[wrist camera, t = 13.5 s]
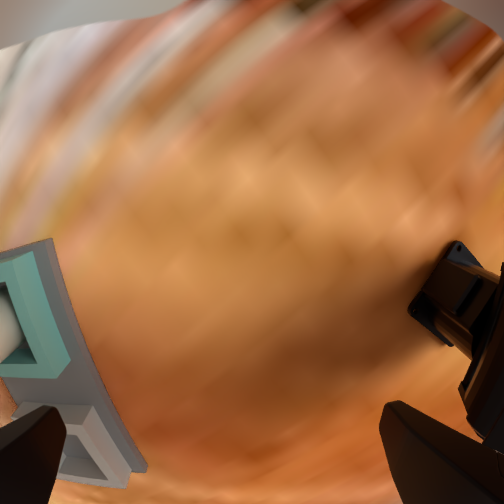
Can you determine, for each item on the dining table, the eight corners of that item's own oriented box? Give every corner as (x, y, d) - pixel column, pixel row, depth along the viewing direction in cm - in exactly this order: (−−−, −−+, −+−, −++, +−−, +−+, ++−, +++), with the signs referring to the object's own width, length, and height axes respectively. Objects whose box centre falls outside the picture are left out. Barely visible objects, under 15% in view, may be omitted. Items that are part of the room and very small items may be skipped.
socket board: (147, 465, 24) (140, 492, 20) (59, 457, 24) (48, 479, 20) (52, 237, 19) (23, 249, 15) (-35, 263, 19) (-61, 275, 15)
